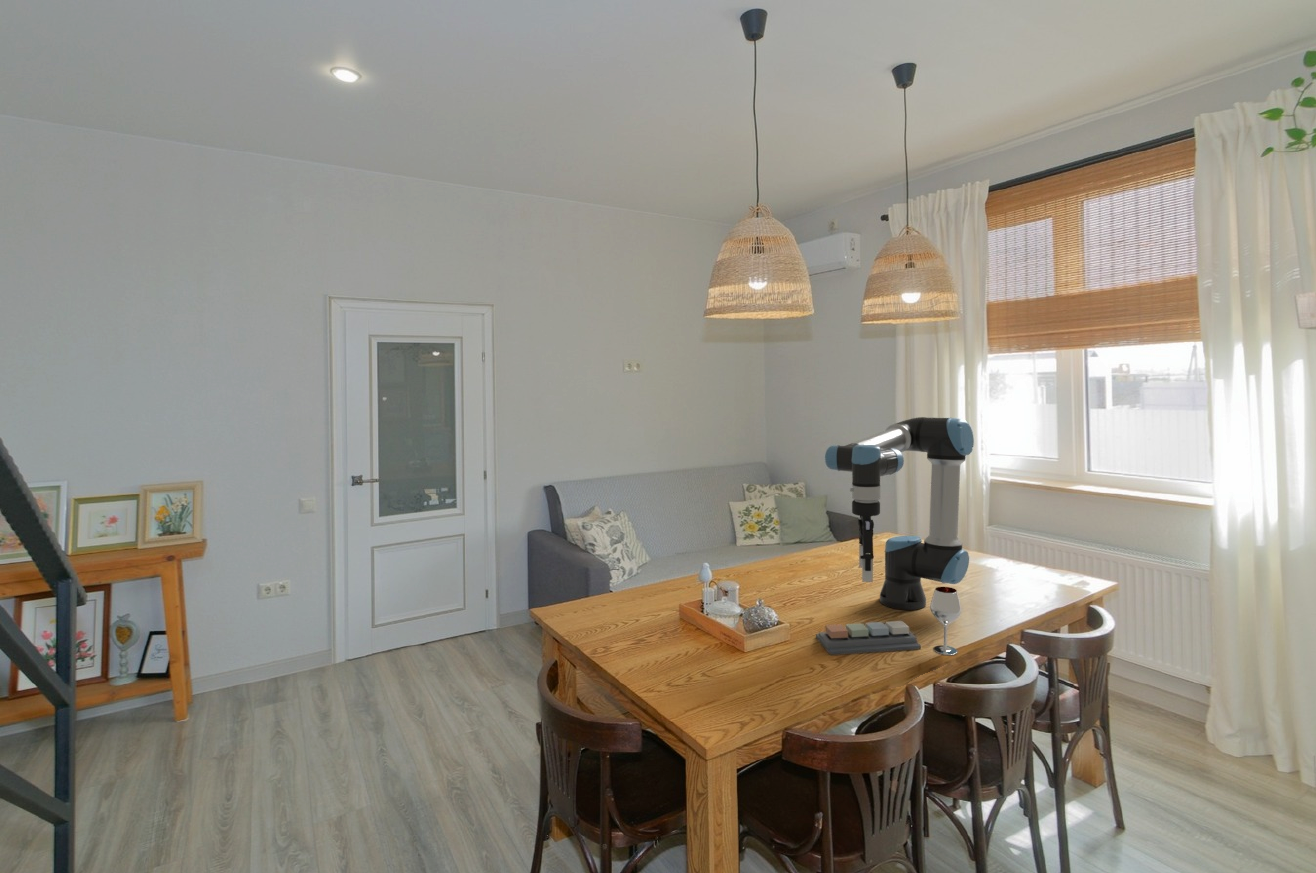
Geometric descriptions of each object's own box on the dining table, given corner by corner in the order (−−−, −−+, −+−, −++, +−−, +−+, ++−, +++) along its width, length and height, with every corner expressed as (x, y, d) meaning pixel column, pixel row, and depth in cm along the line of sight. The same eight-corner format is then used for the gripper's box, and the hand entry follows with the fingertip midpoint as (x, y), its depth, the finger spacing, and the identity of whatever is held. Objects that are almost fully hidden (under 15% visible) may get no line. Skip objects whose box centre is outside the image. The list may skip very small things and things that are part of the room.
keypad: (900, 631, 208) (901, 624, 208) (920, 648, 195) (920, 640, 195) (815, 637, 206) (815, 629, 205) (830, 654, 193) (830, 646, 192)
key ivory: (901, 627, 203) (901, 620, 203) (909, 633, 198) (909, 626, 198) (885, 628, 203) (885, 621, 203) (892, 634, 198) (892, 627, 198)
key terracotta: (841, 630, 202) (841, 624, 202) (847, 637, 197) (847, 630, 197) (825, 631, 201) (825, 625, 201) (831, 638, 197) (831, 631, 196)
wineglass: (942, 658, 189) (943, 595, 187) (923, 646, 196) (924, 587, 195) (967, 654, 191) (968, 592, 189) (947, 643, 199) (948, 583, 197)
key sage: (861, 629, 202) (861, 623, 202) (868, 635, 197) (868, 629, 197) (845, 630, 202) (845, 624, 202) (851, 637, 197) (851, 630, 197)
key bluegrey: (881, 628, 203) (881, 621, 203) (888, 634, 198) (888, 628, 198) (865, 629, 203) (865, 622, 202) (872, 635, 198) (872, 629, 197)
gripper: (849, 492, 201) (849, 561, 203) (854, 508, 177) (854, 587, 179) (876, 492, 199) (875, 562, 201) (884, 509, 175) (884, 588, 177)
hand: (865, 574), depth 190 cm, fingers open, 13 cm apart
